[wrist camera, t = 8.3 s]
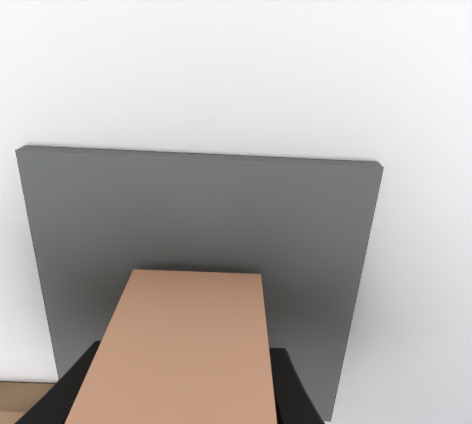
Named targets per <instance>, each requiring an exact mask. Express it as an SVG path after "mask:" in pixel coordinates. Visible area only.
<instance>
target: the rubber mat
mask: <svg viewBox="0 0 472 424" xmlns="http://www.w3.org/2000/svg"><path fill="white" fill-rule="evenodd" d="M15 151H16V156H17V162H18V167H19V172H20V178H21V183H22V188H23V193H24V199H25V204H26V209H27V215H28V220H29V225H30V230H31V236H32V241H33V246H34V252H35V257H36V262H37V267H38V273H39V278H40V283H41V288H42V294H43V299H44V304H45V310H46V315H47V320H48V325H49V331H50V336H51V341H52V347H53V352H54V357H55V362H56V368H57V373H58V378H59V379H60V378H61V377H62V376H63V375H64V374H65V373H66V372H67V371H68V370H69V369H70V368H71V367H72V366H73V365H74V364H75V362H76V361H77V360H78V359H79V358H80V357H81V356H82V355H83V354H84V352H85V351H86V350H87V349H88V348H89V347H90V346H91V345H92V344H93V343H94V342H95V341H102V339H103V336H104V334H105V332H106V330H107V327H108V325H109V323H110V321H111V318H112V316H113V314H114V312H115V309H116V307H117V305H118V303H119V300H120V298H121V296H122V294H123V292H124V289H125V287H126V285H127V283H128V280H129V278H130V276H131V274H132V271H133V269H139V270H166V271H193V272H221V273H248V274H261V279H262V288H263V298H264V307H265V316H266V325H267V334H268V344H269V348H285V349H286V350H287V351H288V354H289V356H290V359H291V361H292V364H293V366H294V368H295V370H296V372H297V375H298V377H299V379H300V381H301V383H302V385H303V387H304V388H305V390H306V392H307V394H308V396H309V398H310V399H311V401H312V403H313V405H314V406H315V408H316V410H317V412H318V413H319V415H320V417H321V418H322V420H323V421H331V417H332V412H333V408H334V403H335V398H336V393H337V388H338V384H339V379H340V374H341V369H342V364H343V360H344V355H345V350H346V345H347V341H348V336H349V331H350V326H351V321H352V317H353V312H354V307H355V302H356V297H357V293H358V288H359V283H360V278H361V273H362V269H363V264H364V259H365V254H366V249H367V245H368V240H369V235H370V230H371V225H372V221H373V216H374V211H375V206H376V201H377V197H378V192H379V187H380V182H381V178H382V173H383V168H384V167H383V166H381V165H380V164H379V163H378V162H364V161H342V160H321V159H299V158H277V157H256V156H234V155H212V154H191V153H169V152H147V151H126V150H104V149H83V148H61V147H39V146H23V147H21V148H19V149H17V150H15Z"/></svg>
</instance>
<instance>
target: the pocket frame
mask: <svg viewBox="0 0 472 424" xmlns="http://www.w3.org/2000/svg"><path fill="white" fill-rule="evenodd" d="M54 385H55V384H45V383H19V382H0V424H14V423H15V422H16V421H18V420H19V419H20V418H21V417H22V416H23V415H24V414H25V413H26V412H27V411H28V410H29V409H30V408H31V407H32V406H33V405H35V404H36V403H37V402H38V401H39V400H40V399H41V398H42V397H43V396H44V395H45V394H46V393H47V392H48V391H49V390H50V389H51V388H52V387H53V386H54Z"/></svg>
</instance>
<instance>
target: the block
mask: <svg viewBox="0 0 472 424" xmlns="http://www.w3.org/2000/svg"><path fill="white" fill-rule="evenodd" d="M65 424H277V417H276V408H275V399H274V390H273V380H272V371H271V362H270V353H269V344H268V334H267V325H266V316H265V307H264V298H263V288H262V279H261V274H248V273H221V272H193V271H166V270H139V269H133V271H132V274H131V276H130V278H129V280H128V283H127V285H126V287H125V289H124V292H123V294H122V296H121V298H120V300H119V303H118V305H117V307H116V309H115V312H114V314H113V316H112V318H111V321H110V323H109V325H108V327H107V330H106V332H105V334H104V336H103V339H102V341H101V343H100V345H99V348H98V350H97V352H96V354H95V357H94V359H93V361H92V363H91V366H90V368H89V370H88V372H87V375H86V377H85V379H84V381H83V384H82V386H81V388H80V390H79V393H78V395H77V397H76V399H75V402H74V404H73V406H72V408H71V411H70V413H69V415H68V417H67V420H66V422H65Z"/></svg>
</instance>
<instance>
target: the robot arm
mask: <svg viewBox="0 0 472 424" xmlns="http://www.w3.org/2000/svg"><path fill="white" fill-rule="evenodd" d="M100 343H101V341H95V342H94V343H93V344H92V345H91V346H90V347H89V348H88V349H87V350H86V351H85V352H84V354H83V355H82V356H81V357H80V358H79V359H78V360H77V361H76V362H75V364H74V365H73V366H72V367H71V368H70V369H69V370H68V371H67V372H66V373H65V374H64V375H63V376H62V377H61V378H60V379H59V381H58V382H57V383H56V384H55V385H54V386H53V387H52V388H51V389H50V390H49V391H48V392H47V393H46V394H45V395H44V396H43V397H42V398H41V399H40V400H39V401H38V402H37V403H36V404H35V405H33V406H32V407H31V408H30V409H29V410H28V411H27V412H26V413H25V414H24V415H23V416H22V417H21V418H20V419H19V420H18V421H16V422H15V423H14V424H65V422H66V420H67V417H68V415H69V413H70V411H71V408H72V406H73V404H74V402H75V399H76V397H77V395H78V393H79V390H80V388H81V386H82V384H83V381H84V379H85V377H86V375H87V372H88V370H89V368H90V366H91V363H92V361H93V359H94V357H95V354H96V352H97V350H98V348H99V345H100ZM269 353H270V362H271V371H272V380H273V390H274V399H275V408H276V417H277V424H325V423H324V422H323V420H322V418H321V417H320V415H319V413H318V412H317V410H316V408H315V406H314V405H313V403H312V401H311V399H310V398H309V396H308V394H307V392H306V390H305V388H304V387H303V385H302V383H301V381H300V379H299V377H298V375H297V372H296V370H295V368H294V366H293V364H292V361H291V359H290V356H289V354H288V351H287V350H286V349H285V348H269Z"/></svg>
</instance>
